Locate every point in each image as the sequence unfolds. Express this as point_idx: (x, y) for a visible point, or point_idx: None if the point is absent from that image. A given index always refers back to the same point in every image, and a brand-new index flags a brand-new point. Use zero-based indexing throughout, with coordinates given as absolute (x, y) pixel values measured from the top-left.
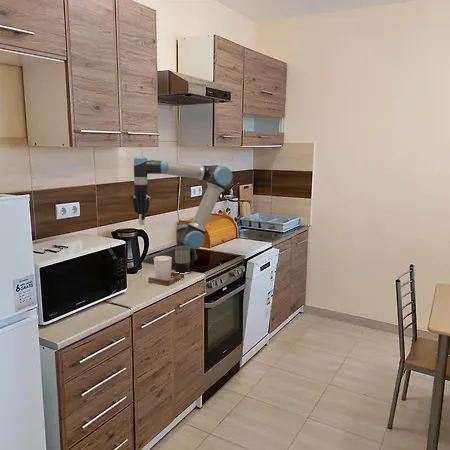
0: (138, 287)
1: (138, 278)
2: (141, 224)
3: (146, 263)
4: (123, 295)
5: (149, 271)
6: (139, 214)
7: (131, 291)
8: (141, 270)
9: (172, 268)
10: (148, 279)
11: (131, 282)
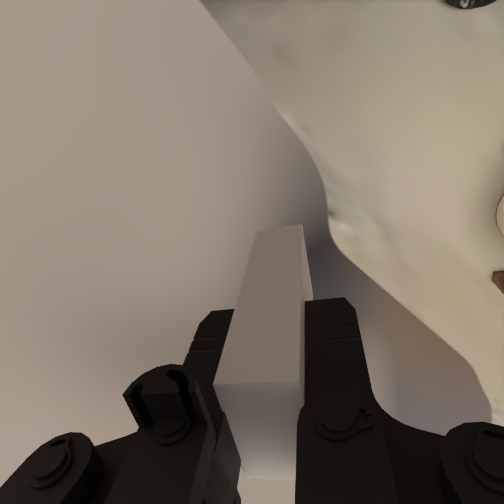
0: (493, 345)
1: (406, 264)
2: (312, 296)
3: (209, 6)
4: (497, 419)
5: (367, 140)
6: (266, 471)
7: (497, 384)
8: (313, 155)
9: (492, 1)
10: (501, 289)
11: (419, 317)
